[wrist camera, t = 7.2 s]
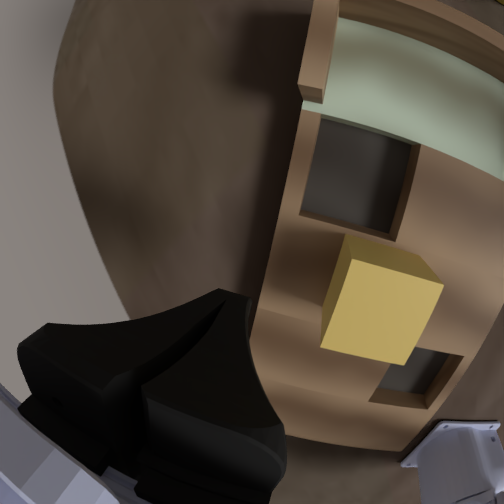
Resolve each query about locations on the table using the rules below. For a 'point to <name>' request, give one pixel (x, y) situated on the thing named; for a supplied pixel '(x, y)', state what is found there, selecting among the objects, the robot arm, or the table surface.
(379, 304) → the mustard block
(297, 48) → the table surface
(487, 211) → the trap board
